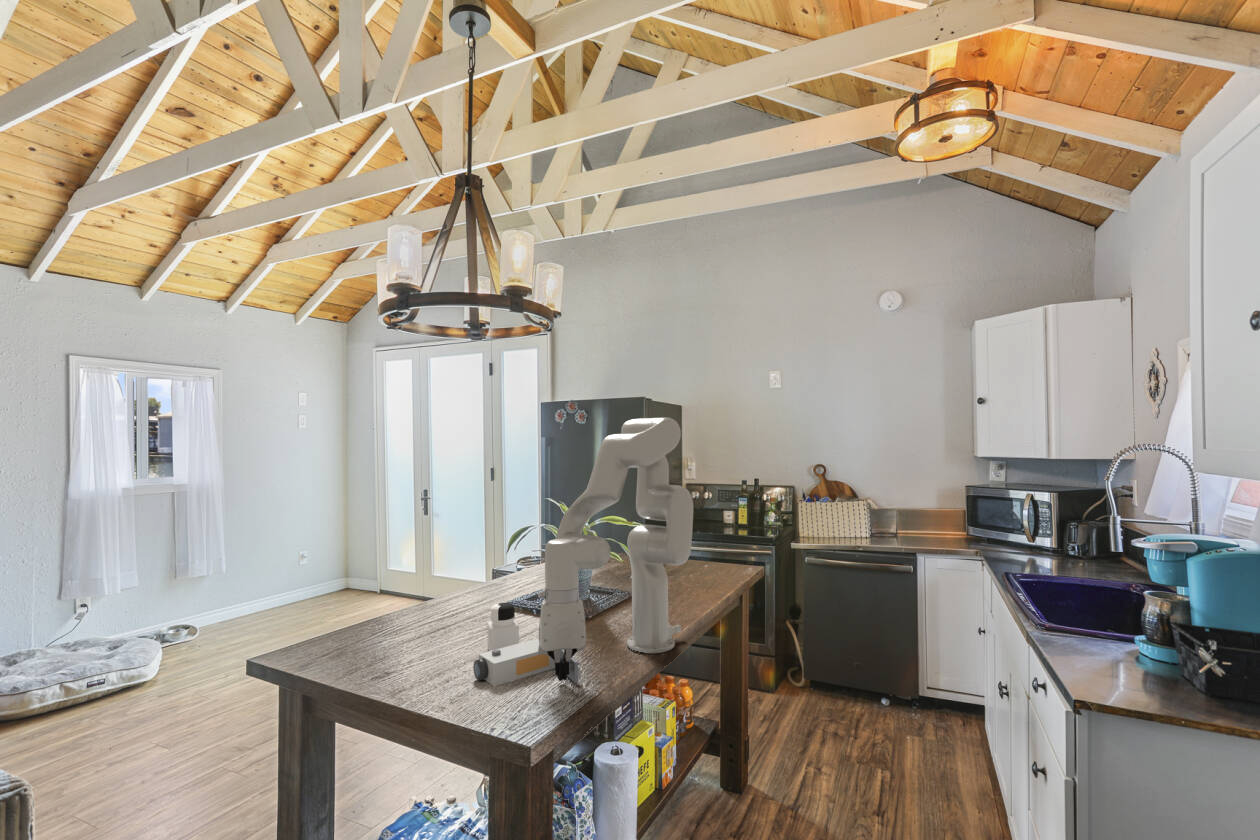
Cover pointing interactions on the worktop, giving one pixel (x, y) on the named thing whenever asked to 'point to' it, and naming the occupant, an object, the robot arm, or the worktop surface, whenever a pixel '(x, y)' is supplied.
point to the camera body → (511, 663)
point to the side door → (572, 668)
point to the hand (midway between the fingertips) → (561, 678)
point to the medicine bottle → (502, 627)
